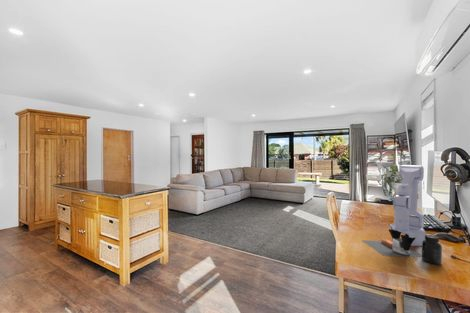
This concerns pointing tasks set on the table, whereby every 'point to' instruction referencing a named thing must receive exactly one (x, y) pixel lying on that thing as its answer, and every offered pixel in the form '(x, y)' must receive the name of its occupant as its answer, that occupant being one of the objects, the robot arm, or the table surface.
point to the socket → (398, 244)
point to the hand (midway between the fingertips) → (401, 247)
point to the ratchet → (390, 245)
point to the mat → (388, 249)
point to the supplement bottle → (432, 250)
